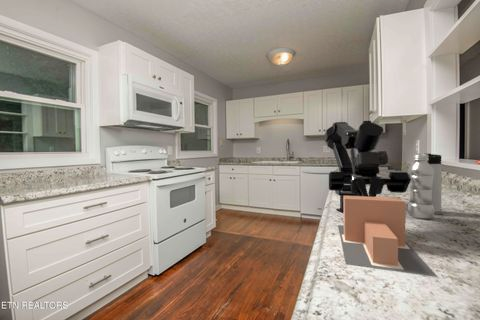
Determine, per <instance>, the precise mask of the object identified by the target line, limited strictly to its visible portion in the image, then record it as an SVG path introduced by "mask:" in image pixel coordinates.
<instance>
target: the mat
mask: <svg viewBox="0 0 480 320" xmlns="http://www.w3.org/2000/svg"><path fill="white" fill-rule="evenodd" d="M337 228H338V232H339V239H340V242H341V243H340V244H341V247H342V252H343V257H344V262H345V265H349V266H355V267H362V268H363V267H364V268H369V269H370V268H371V269H376V270H377V269H378V270H384V271H391V272H399V273H406V274H413V275H420V276H427V277H435V278H439V276H438V275H437V273H435V272H434V271H433V270H432V268H431V267H430V266H429V265H428V264H427V263H426V262H425V260H424V259H422V257H421V256H420V255H419V254H418V253H417V252H416V251H415V250H414V249H413V247H412V246H411V245H410V244H409V243H408V242H407V241H406V240H405V247H404V246H398V266H395V265H387V264H380V263H373V261H372V259H371V257H370V255H369V252H368V250H367V248H366V245H365V243H364V242H356V241H347V240H345V237H344V224H343V225H341V224H338V225H337Z"/></svg>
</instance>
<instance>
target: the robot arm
mask: <svg viewBox="0 0 480 320" xmlns="http://www.w3.org/2000/svg"><path fill="white" fill-rule="evenodd" d="M383 133H384V128H383V127H382V126H381V125H379V124H377V123H375V122H372V121H371V120H363V121H362V123H361V124H360V125H359V127H358V129H355V128H353V126H351V125H350V124H348V122H346V121H339V122H338V121H336V122H333V123H332V126H330V127H329V128H327V129H326V130H325V133H324V139H323V141H324V142H325V144H326V146H327V147H328V148H329V149H330V150H332V151H333V154H334V159H335V162H336V164H337V168H338V170H339V171H330V172H329V173H328V190H329V191H332V192H333V191H334V193H335V194H336V195H338V196H339V208H336V211H338V212H341V213H343V214H344V207H343V196H366V197H377V195H382V192H383V190H384V186H386V188H387V191H389V192H390V193H397V194H398V193H401V194H402V193H403V194H404V193H406V192H407V191H408V188H409V186H410V181H411V178H410V175H409V174H408V171H390V172H389V174H388V176H378V175H380V166H386V165H387V164H388V162H389V157H388V154H387V151H386V150H383V151H382V150H381V151H374V150H376V149H377V148H378V144H379V142H380V141H381V140H380V139H381V138H382V135H383ZM348 150H350V151H349V152H348ZM349 153H350V156H349ZM367 186H369V188H368V190H367Z"/></svg>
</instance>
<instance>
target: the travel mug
mask: <svg viewBox="0 0 480 320" xmlns="http://www.w3.org/2000/svg"><path fill="white" fill-rule="evenodd" d="M427 154H428V159H429V160H428V161H427V162H428V163H429V165H430V166H431V167H432V168H433V170H434V175H433V176H434V177H433V183H432V202H433V206H434V216H436V215H437V216H439V215H441V214H442V183H443V181H442V178H443V176H442V173H443V172H442V170H443V169H442V164H443V163H442V154H434V153H433V154H432V153H427Z"/></svg>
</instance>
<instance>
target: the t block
mask: <svg viewBox="0 0 480 320" xmlns="http://www.w3.org/2000/svg"><path fill="white" fill-rule="evenodd" d="M343 207H344V213H343V226H344V237H345V240H347V241H356V242H364V243H365V245H366V248H367V250H368V252H369V255H370V257H371V259H372V261H373V263H380V264H387V265H395V266H398V246H404V247H405V241H406V201H405V200H404V199H402V198H400V197H385V196H376V197H366V196H343Z"/></svg>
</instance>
